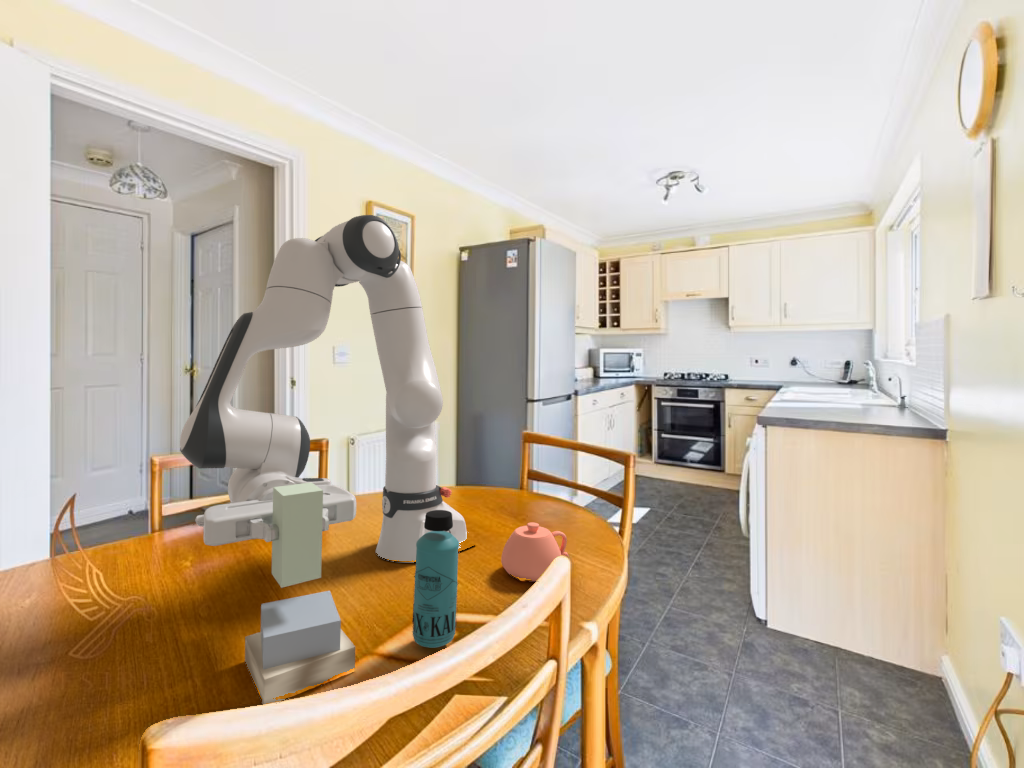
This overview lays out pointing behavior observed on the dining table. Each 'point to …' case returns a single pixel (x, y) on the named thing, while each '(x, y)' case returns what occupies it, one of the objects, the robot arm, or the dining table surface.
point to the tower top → (299, 628)
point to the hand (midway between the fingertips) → (299, 530)
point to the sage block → (297, 533)
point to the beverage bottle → (435, 582)
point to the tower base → (296, 668)
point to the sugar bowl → (531, 551)
